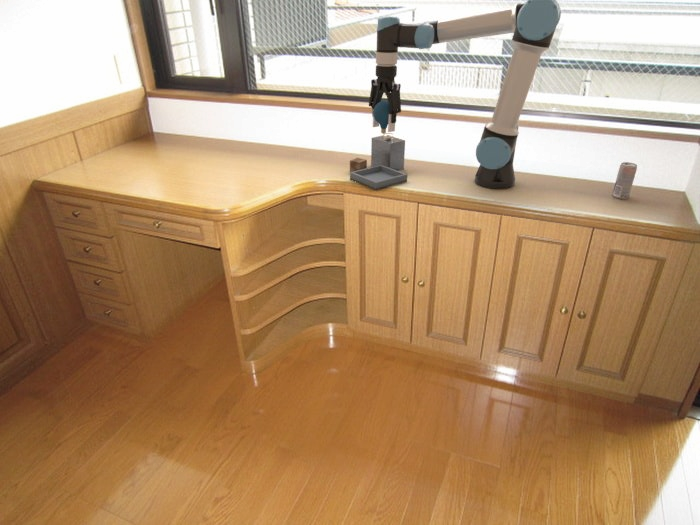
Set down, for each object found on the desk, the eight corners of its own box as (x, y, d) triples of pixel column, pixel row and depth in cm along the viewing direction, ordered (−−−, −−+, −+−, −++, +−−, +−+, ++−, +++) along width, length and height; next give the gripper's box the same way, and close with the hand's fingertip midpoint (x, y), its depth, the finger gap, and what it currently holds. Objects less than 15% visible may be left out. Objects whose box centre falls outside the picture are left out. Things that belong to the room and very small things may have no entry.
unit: (403, 168, 207) (405, 135, 201) (389, 172, 203) (390, 138, 196) (384, 162, 216) (385, 130, 209) (370, 165, 212) (371, 132, 205)
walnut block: (366, 171, 205) (366, 159, 202) (359, 174, 201) (359, 162, 199) (357, 169, 207) (357, 157, 205) (349, 172, 204) (349, 160, 201)
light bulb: (394, 131, 189) (396, 99, 183) (394, 136, 182) (395, 103, 176) (373, 130, 190) (374, 98, 184) (371, 135, 183) (372, 102, 177)
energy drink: (623, 193, 179) (632, 162, 174) (631, 199, 175) (640, 166, 169) (609, 194, 179) (617, 162, 173) (616, 199, 174) (625, 166, 169)
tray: (406, 181, 193) (407, 174, 191) (375, 190, 184) (376, 182, 183) (380, 171, 204) (380, 164, 202) (350, 179, 195) (349, 172, 194)
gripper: (414, 67, 169) (409, 133, 180) (375, 61, 183) (373, 122, 194) (398, 69, 165) (394, 136, 176) (360, 62, 179) (358, 124, 190)
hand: (383, 128), depth 185 cm, fingers closed on light bulb, 8 cm apart
